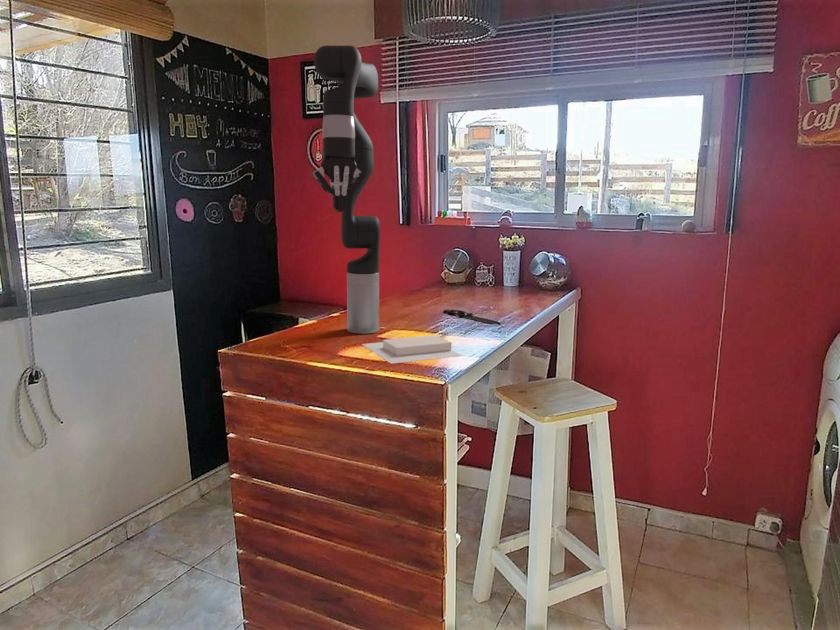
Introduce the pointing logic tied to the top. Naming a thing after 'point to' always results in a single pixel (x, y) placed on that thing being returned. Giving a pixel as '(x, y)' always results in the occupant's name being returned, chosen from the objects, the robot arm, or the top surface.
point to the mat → (392, 358)
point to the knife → (468, 316)
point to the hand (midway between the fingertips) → (339, 211)
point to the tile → (416, 345)
